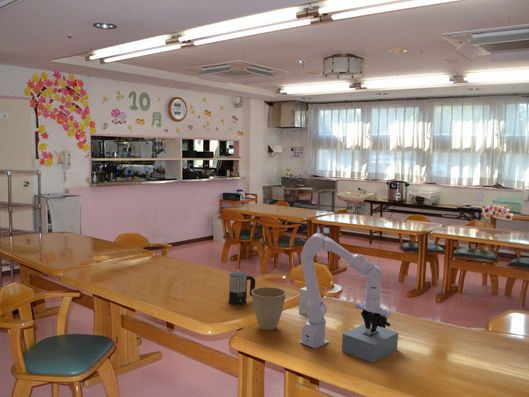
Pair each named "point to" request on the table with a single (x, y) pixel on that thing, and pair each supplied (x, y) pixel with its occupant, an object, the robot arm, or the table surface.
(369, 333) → the wooden block
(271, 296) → the plant pot
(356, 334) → the grey square hole block
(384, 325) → the toy ball
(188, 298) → the table surface
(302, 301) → the skincare box
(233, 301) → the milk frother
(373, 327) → the robot arm
